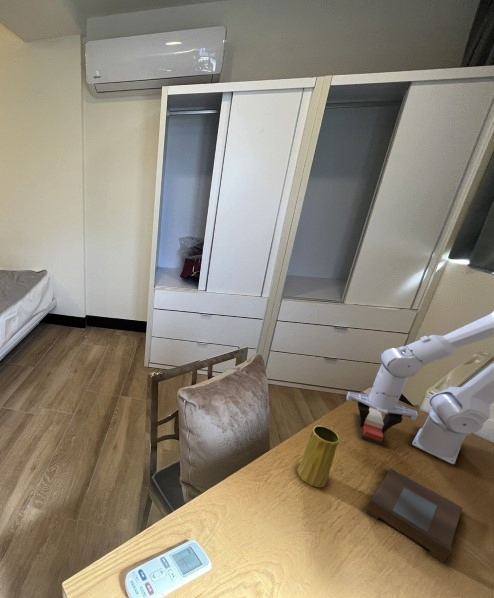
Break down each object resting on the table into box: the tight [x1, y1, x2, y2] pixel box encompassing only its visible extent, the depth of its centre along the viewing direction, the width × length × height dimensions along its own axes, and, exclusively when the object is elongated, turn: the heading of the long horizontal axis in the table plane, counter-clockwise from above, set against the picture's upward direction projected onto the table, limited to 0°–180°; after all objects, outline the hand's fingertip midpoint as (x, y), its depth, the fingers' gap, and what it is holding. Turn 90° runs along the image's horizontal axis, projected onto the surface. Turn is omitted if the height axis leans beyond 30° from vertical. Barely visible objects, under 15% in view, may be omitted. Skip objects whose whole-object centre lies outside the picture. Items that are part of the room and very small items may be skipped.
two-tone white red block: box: [358, 407, 384, 446], centre depth 89 cm, size 10×4×4 cm, turn 145°
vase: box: [296, 425, 341, 488], centre depth 74 cm, size 6×6×14 cm
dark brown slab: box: [365, 468, 463, 564], centre depth 67 cm, size 16×12×4 cm
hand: (370, 427), depth 89 cm, fingers closed on two-tone white red block, 4 cm apart
